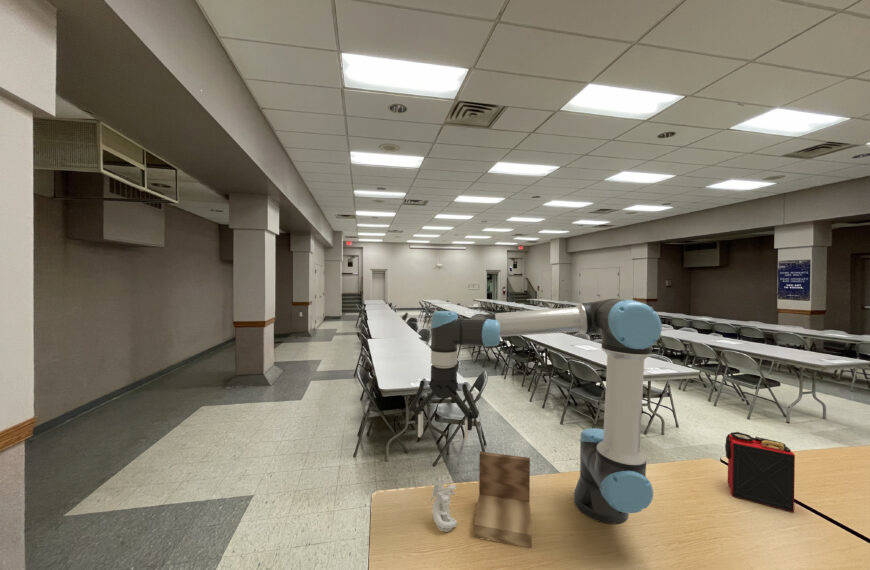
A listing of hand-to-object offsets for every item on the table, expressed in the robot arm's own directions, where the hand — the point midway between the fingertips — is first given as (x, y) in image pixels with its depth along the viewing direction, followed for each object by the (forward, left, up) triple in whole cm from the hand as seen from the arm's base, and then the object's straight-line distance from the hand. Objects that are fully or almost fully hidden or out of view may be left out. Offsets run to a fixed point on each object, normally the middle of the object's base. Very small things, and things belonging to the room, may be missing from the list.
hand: (443, 438), depth 95 cm
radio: (-97, -36, -24) cm, 106 cm away
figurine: (0, 0, -24) cm, 24 cm away
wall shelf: (-17, -4, -24) cm, 30 cm away
